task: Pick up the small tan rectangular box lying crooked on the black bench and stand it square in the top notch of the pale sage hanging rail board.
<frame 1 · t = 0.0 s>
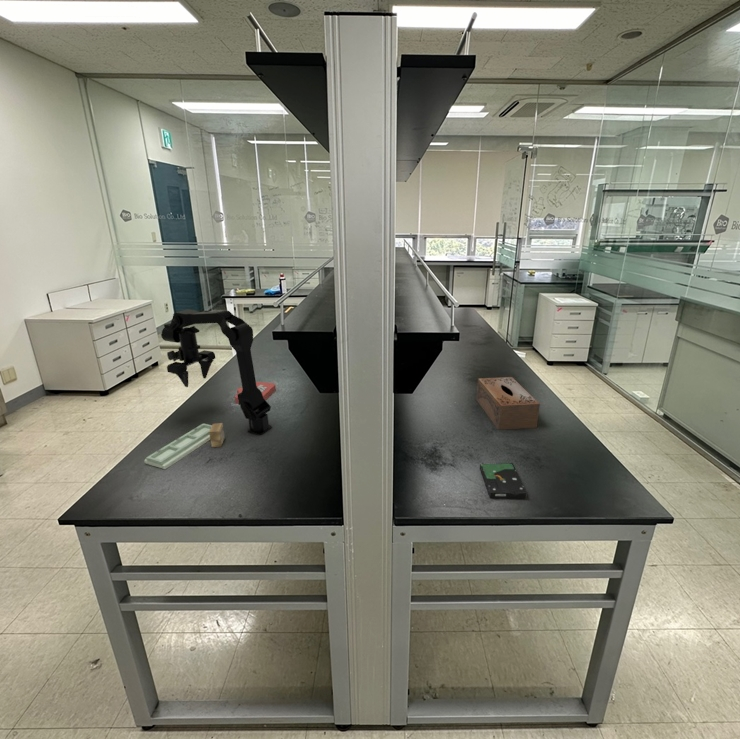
hand: (195, 382, 161), 15 cm above the table, fingers open, 9 cm apart
disk drive: (501, 484, 124), on the table
rail board: (185, 447, 145), on the table
tissue box cover: (504, 413, 166), on the table
tan rectangular box: (218, 442, 148), on the table
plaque: (253, 397, 185), on the table
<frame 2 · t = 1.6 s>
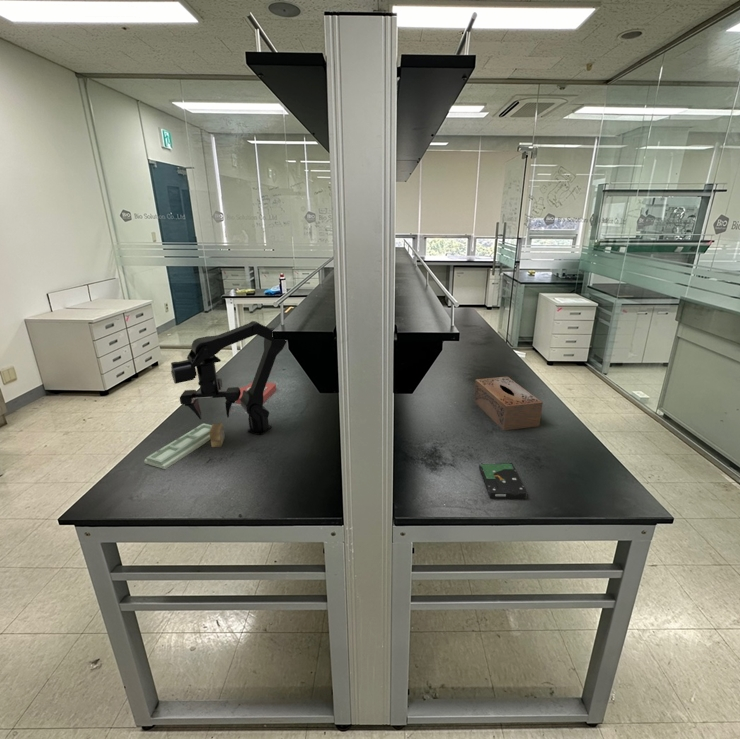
hand: (214, 417, 144), 10 cm above the table, fingers open, 9 cm apart
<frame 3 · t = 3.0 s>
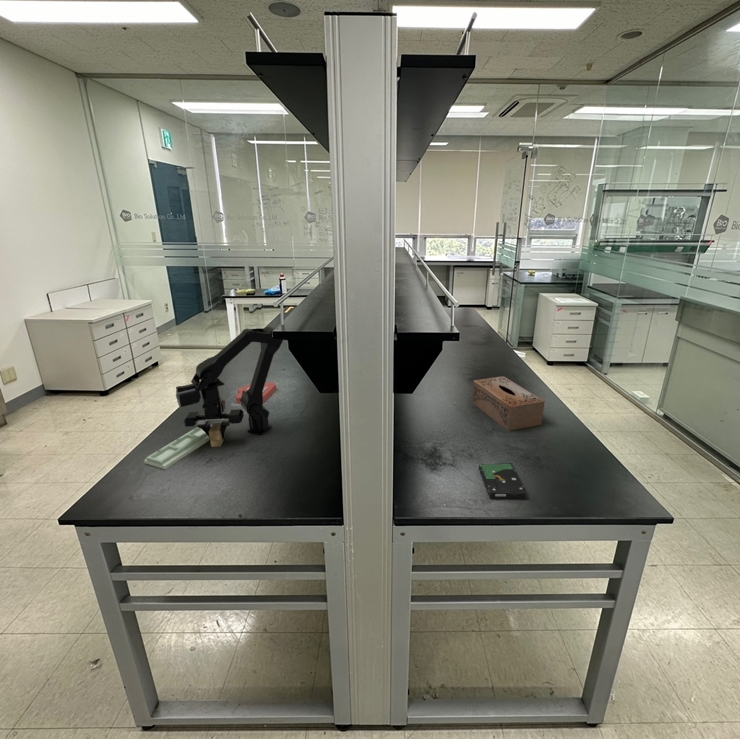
hand: (218, 439, 147), 1 cm above the table, fingers closed on tan rectangular box, 3 cm apart
tan rectangular box: (218, 442, 148), on the table, touching gripper
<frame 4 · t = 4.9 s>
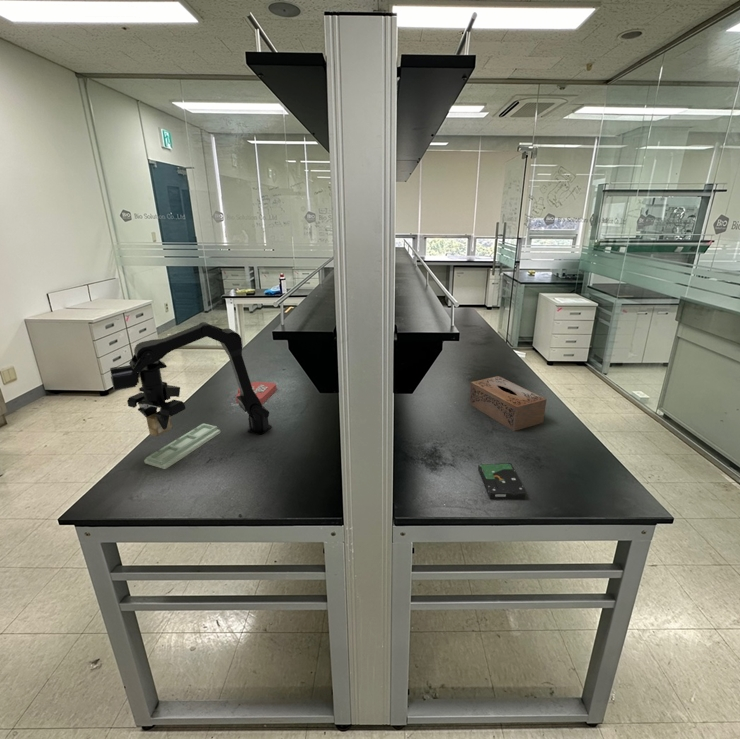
hand: (160, 427, 134), 12 cm above the table, fingers closed on tan rectangular box, 3 cm apart
tan rectangular box: (161, 431, 135), point 10 cm above the table, touching gripper
when the fingers open (3 cm above the table, at t = 6.7 s): tan rectangular box stays where it is, resting on rail board.
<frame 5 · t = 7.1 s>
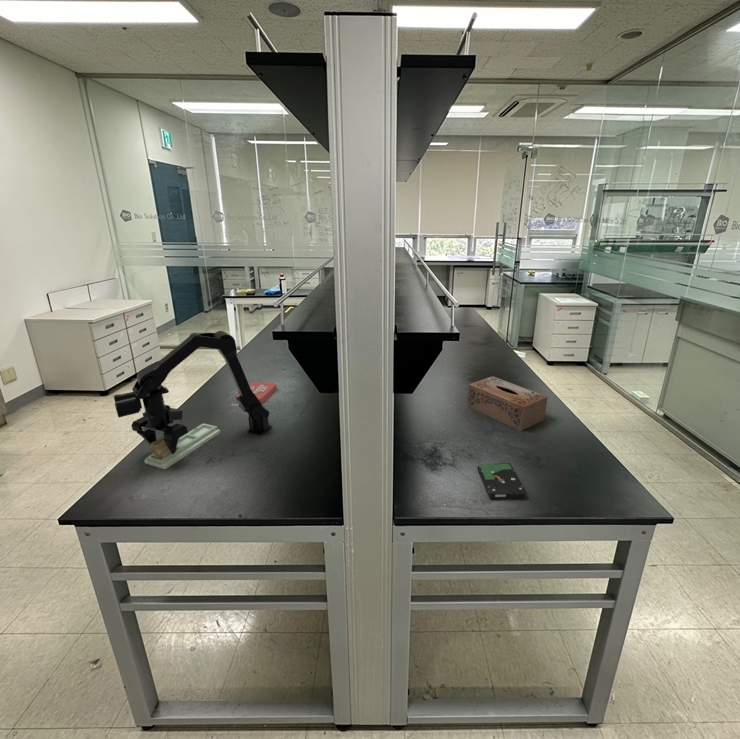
hand: (164, 450, 137), 3 cm above the table, fingers open, 8 cm apart
tan rectangular box: (165, 455, 138), point 1 cm above the table, touching rail board
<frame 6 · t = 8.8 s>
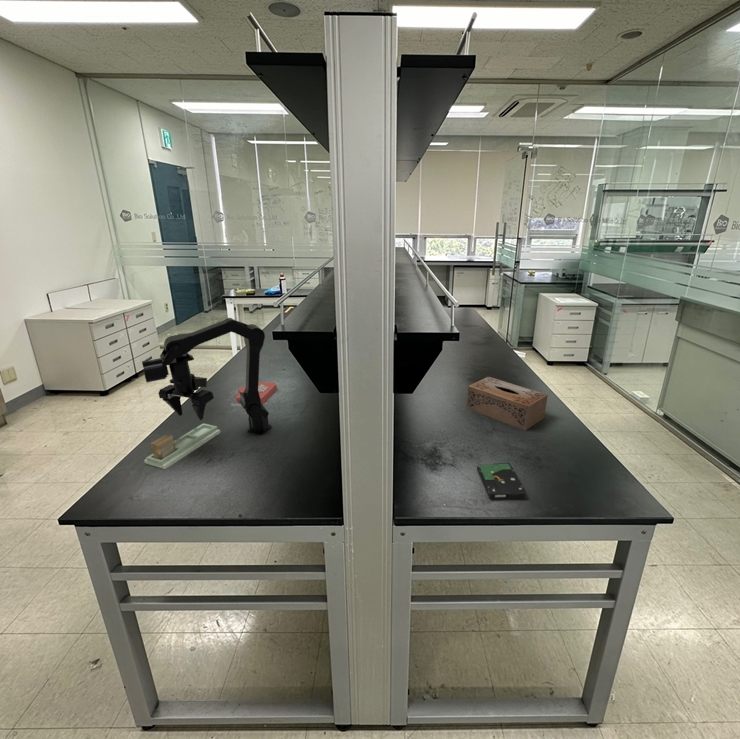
hand: (191, 417, 141), 11 cm above the table, fingers open, 9 cm apart
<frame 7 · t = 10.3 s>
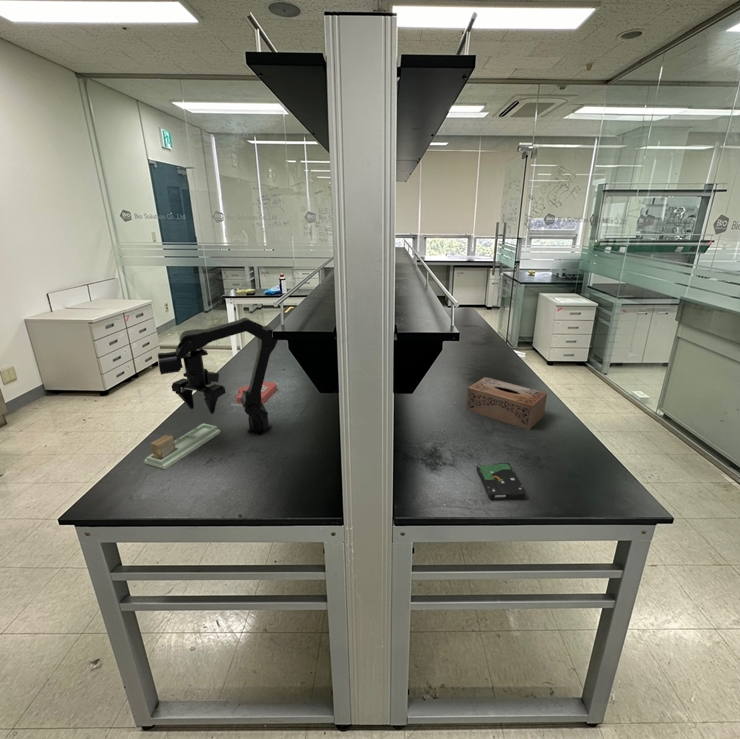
hand: (202, 411, 144), 12 cm above the table, fingers open, 9 cm apart
at the end: tan rectangular box 0.1 cm from the target spot on the rail board, point 1.2 cm above the rail board's base; tan rectangular box tilted 0°; the gripper is holding nothing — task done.
